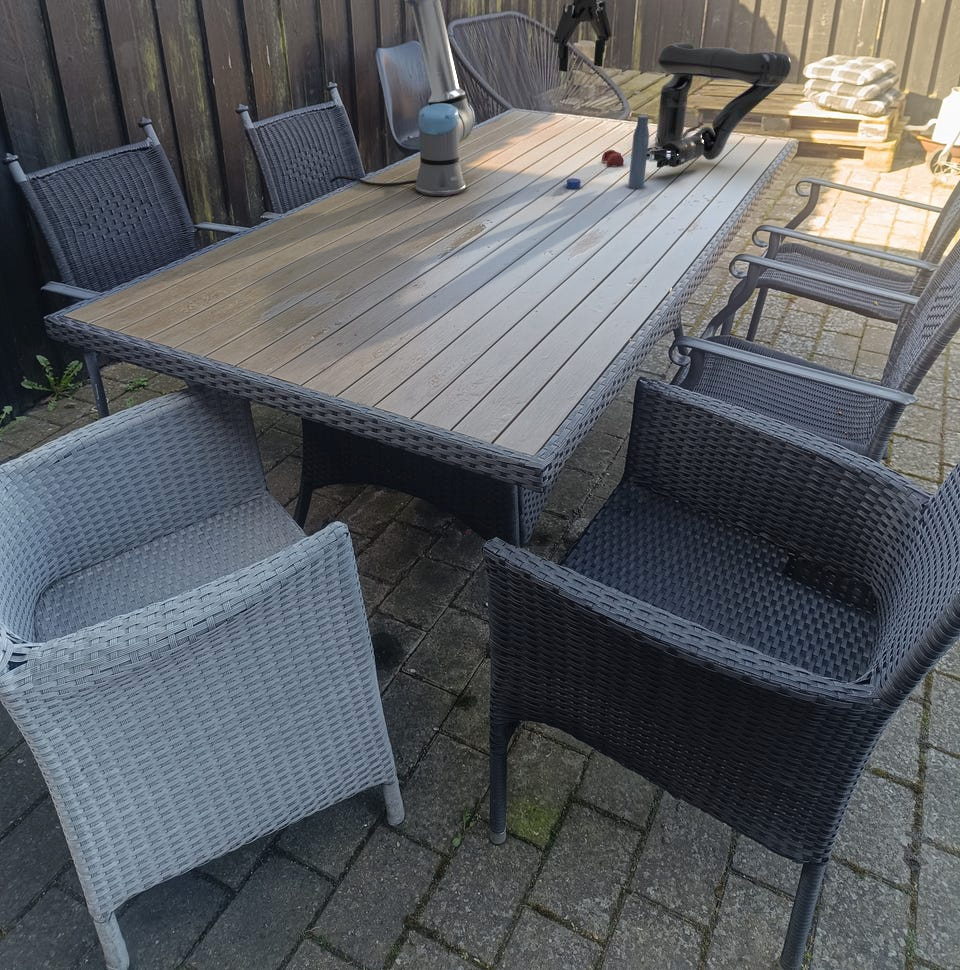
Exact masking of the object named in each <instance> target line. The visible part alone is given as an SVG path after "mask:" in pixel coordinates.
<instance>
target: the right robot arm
mask: <svg viewBox="0 0 960 970" xmlns="http://www.w3.org/2000/svg"><path fill="white" fill-rule="evenodd" d="M658 66H659V68H660V69H661V70H662V72H664V74H666V75H672V78H671V79H670V80H668V82H665V83H664V84H663V85H662V86H661V91H660V98H659V99H660V100H659V108H658V115H657V126H656V135H655V137H654V141H655V142H654V148H655V149H654V148H653V147H652V146H651V147H648V151H647V160H646V161H649V162H650V163H656V168H659V169H660V168H663V167H669V168H676V167H679V166H681V165H685V163H688V162H689V161H693V160H695V159H699V158H701V156H703V158H705V159H706V160H707V161H713V160H715V159H717V158H718V157H719V156H720V155H721V154H722V152H723V151H724V149H725V147H726V145H727V142H728V140H729V138H730V136H731V135H732V133H733V131H735V130H736V128H737V127H738V126H739V125H740V123H741V122H742V121H743V120H744V119H745V118H746V117H747V116H748V114H750V113H751V112H752V110H753V109H755V108H756V107H757V106H758V105H759V104H760V103H761V102H763V100H765V99H766V98H767V97H769V95H771V94H772V93H773V92H774V91H775V90H776V89H777V88H780V86H781V85H782V84H783V83H784V82H785V81H786V80H787V78H789V76H790V72H791V70H792V61H791V59H790V56H789V55H787V54H786V53H784V52H778V51H760V52H759V51H758V52H745V53H744V52H739V51H737V50H736V49H734V48H729V47H723V46H708V47H699V48H698V47H697V48H695V45H694V44H692V43H691V42H677V43H670V44H667V45H666V46H664V47H663V48H662V49H661V51H660V53H659V55H658ZM694 76H695V77H699V78H702V79H703V78H704V79H709V80H714V81H725V82H726V81H734V80H736V81H741V82H744V83H747V84H750V85H751V86H750V87H748V88H747V89H745V90H744V91H743V92H742V93H739V94H738V95H737V96H736V97H734V98H733V99H731V100H730V101H729V102H728V103H727V104H726V105H724V107H723V108H722V109H721V110H720V112H719V113H718V114H717V116H715V118H714V119H713V120H712V124H711V125H712V127H711V126H704V123H703V121H700V122H699V124H698V125H696V126H693V127H690V128H688V129H686V130H685V122H686V114H687V107H688V99H689V92H690V90H691V88H692V84H693V80H694ZM701 126H703V127H701ZM700 127H701V128H700ZM699 128H700V129H699ZM697 129H698V131H696V133H694V134H692V135H691V136H688V137H685V136H686V135H688V132H691V131H692V130H697ZM684 130H685V131H684Z"/></svg>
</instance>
